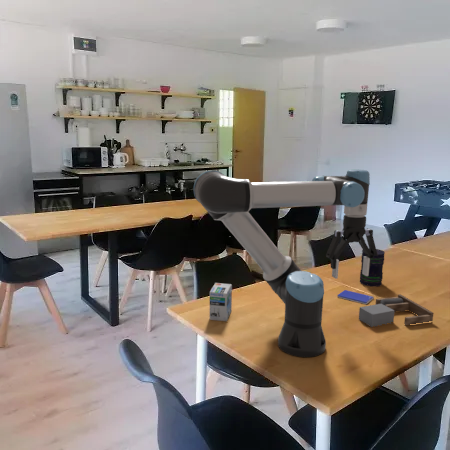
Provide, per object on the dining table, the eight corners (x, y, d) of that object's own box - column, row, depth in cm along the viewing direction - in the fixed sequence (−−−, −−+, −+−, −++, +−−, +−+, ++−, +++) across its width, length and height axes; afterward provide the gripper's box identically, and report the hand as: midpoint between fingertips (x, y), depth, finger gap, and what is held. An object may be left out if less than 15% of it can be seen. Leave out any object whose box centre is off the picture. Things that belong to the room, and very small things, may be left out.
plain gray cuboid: (371, 327, 162) (372, 314, 161) (358, 319, 169) (359, 307, 168) (393, 323, 166) (394, 310, 165) (380, 316, 172) (381, 303, 171)
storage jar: (381, 287, 202) (384, 255, 199) (358, 285, 205) (361, 253, 202) (381, 280, 211) (384, 249, 208) (359, 278, 215) (362, 247, 211)
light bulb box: (226, 321, 165) (227, 293, 162) (208, 320, 166) (209, 292, 164) (231, 310, 175) (232, 283, 173) (214, 308, 176) (215, 282, 174)
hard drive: (373, 296, 189) (345, 289, 196) (366, 302, 183) (337, 294, 190) (373, 299, 189) (345, 293, 197) (366, 305, 183) (337, 298, 190)
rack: (405, 326, 163) (407, 315, 162) (375, 306, 181) (376, 296, 180) (432, 323, 166) (433, 312, 165) (399, 303, 184) (400, 294, 183)
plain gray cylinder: (385, 311, 176) (386, 301, 175) (379, 307, 180) (380, 298, 179) (403, 309, 178) (404, 300, 178) (397, 305, 182) (398, 296, 181)
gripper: (329, 218, 149) (324, 282, 154) (391, 216, 155) (385, 277, 160) (318, 214, 156) (314, 275, 161) (378, 212, 162) (373, 270, 167)
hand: (350, 276), depth 160 cm, fingers open, 11 cm apart
